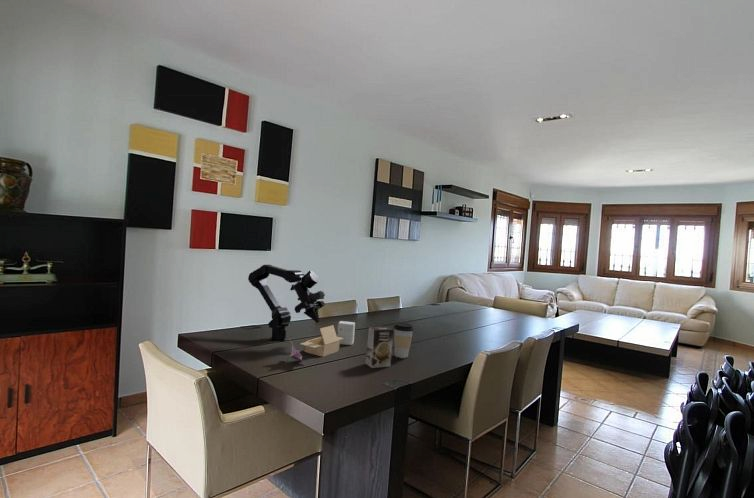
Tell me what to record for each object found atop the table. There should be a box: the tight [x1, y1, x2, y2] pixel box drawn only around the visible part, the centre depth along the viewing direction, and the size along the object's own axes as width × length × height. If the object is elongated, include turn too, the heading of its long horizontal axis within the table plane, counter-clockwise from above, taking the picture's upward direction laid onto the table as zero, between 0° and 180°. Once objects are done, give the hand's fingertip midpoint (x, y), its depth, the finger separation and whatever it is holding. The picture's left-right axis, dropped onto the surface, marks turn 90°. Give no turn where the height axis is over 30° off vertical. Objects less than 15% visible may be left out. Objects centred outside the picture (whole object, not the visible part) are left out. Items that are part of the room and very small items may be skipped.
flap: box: [319, 324, 338, 345], centre depth 181 cm, size 8×10×1 cm
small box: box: [336, 320, 356, 346], centre depth 200 cm, size 8×6×10 cm
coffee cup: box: [393, 322, 414, 359], centre depth 186 cm, size 9×9×15 cm
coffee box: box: [365, 326, 395, 369], centre depth 170 cm, size 9×6×16 cm
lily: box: [284, 338, 305, 365], centre depth 163 cm, size 12×12×10 cm
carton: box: [300, 336, 344, 358], centre depth 183 cm, size 11×22×5 cm, turn 151°
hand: (318, 322), depth 185 cm, fingers closed
